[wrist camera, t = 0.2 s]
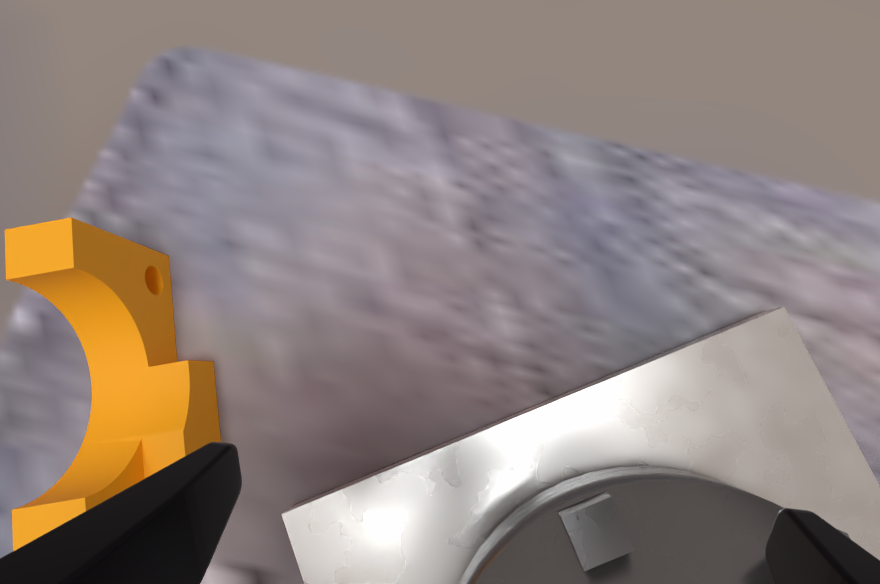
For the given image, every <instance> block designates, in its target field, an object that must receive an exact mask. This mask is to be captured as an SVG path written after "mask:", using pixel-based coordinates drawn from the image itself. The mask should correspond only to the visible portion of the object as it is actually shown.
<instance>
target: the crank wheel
mask: <svg viewBox="0 0 880 584" xmlns="http://www.w3.org/2000/svg"><path fill="white" fill-rule="evenodd" d="M781 509H784V508H783V507H781V506H779V505H777V504H775V503H773V502H771V501H769V500H766V499H764V498H761V497H759V496H757V495H754V494H752V493H750V492H747V491H745V490H743V489H740V488H738V487H735V486H733V485H731V484H728V483H725V482H723V481H720V480H717V479H714V478H711V477H708V476H706V475H703V474H699V473H694V472H690V471H685V470H681V469H676V468H668V467H656V466H627V467H615V468H609V469H604V470H599V471H593V472H589V473H586V474H583V475H580V476H577V477H574V478H571V479H568V480H565V481H563V482H561V483H559V484H557V485H555V486H553V487H551V488H549V489H547V490H545V491H543V492H541V493H539V494H538V495H536V496H535V497H533V498H532V499H530V500H529V501H527V502H526V503H525V504H523V505H522V506H520V507H519V508H517V509H516V510H515V511H514V512H513V513H512V514H511V515H510V516H508V517H507V518H506V519H505V520H504V521H503V522H502V523H501V524H500V525H499V526H497V527H496V529H495V530H494V531H493V532H492V533H491V535H490V536H489V537H488V538H487V539H486V541H485V542H484V543H483V544H482V545H481V547H480V548H479V549H478V551H477V552H476V554H475V555H474V557H473V559H472V560H471V562H470V563H469V565H468V566H467V568H466V570H465V571H464V573H463V575H462V577H461V579H460V581H459V583H458V584H773V581H772V578H771V574H770V571H769V568H768V565H767V562H766V557H765V547H766V543H767V540H768V537H769V535H770V532H771V530H772V527H773V524H774V522H775V519H776V517H777V514H778V512H779V511H780V510H781ZM837 530H838V529H837ZM839 531H840V532H841V533H843V534H844V535H846V536H847V537H848V538H850V537H849V535H848V533H845V532H843V531H841V530H839Z"/></svg>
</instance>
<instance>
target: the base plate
mask: <svg viewBox="0 0 880 584" xmlns="http://www.w3.org/2000/svg"><path fill="white" fill-rule="evenodd" d="M627 466H656V467H668V468H676V469H681V470H685V471H690V472H694V473H699V474H703V475H706V476H708V477H711V478H714V479H717V480H720V481H723V482H725V483H728V484H731V485H733V486H735V487H738V488H740V489H743V490H745V491H747V492H750V493H752V494H754V495H757V496H759V497H761V498H764V499H766V500H769V501H771V502H773V503H775V504H777V505H779V506H781V507H783V508H792V509H801V510H808V511H811V512H814V513H815V514H817V515H818V516H819V517H821V518H822V519H824V520H825V521H826V522H828V523H829V524H830V525H832V526H833V527H835V528H836V529H838V530H841V531H843V532H845V533H848V535H849V537H850V539H851V540H852V541H854V542H855V543H857V544H858V545H859V546H861V547H862V548H863V549H865V550H866V551H868V552H869V553H870V554H872V555H873V556H874V557H876V558H877V559H879V560H880V486H879V484H878V482H877V480H876V478H875V476H874V475H873V473H872V471H871V469H870V467H869V465H868V463H867V461H866V460H865V458H864V456H863V454H862V452H861V450H860V448H859V446H858V444H857V443H856V441H855V439H854V437H853V435H852V433H851V431H850V429H849V428H848V426H847V424H846V422H845V420H844V418H843V416H842V414H841V413H840V411H839V409H838V407H837V405H836V403H835V401H834V399H833V398H832V396H831V394H830V392H829V390H828V388H827V386H826V384H825V383H824V381H823V379H822V377H821V375H820V373H819V371H818V369H817V368H816V366H815V364H814V362H813V360H812V358H811V356H810V354H809V352H808V351H807V349H806V347H805V345H804V343H803V341H802V339H801V337H800V336H799V334H798V332H797V330H796V328H795V326H794V324H793V322H792V321H791V319H790V317H789V315H788V313H787V311H786V309H785V307H781V308H776V309H772V310H767V311H763V312H761V313H758V314H756V315H754V316H751V317H749V318H746V319H744V320H741V321H739V322H737V323H734V324H732V325H729V326H727V327H724V328H722V329H720V330H717V331H715V332H712V333H710V334H707V335H705V336H703V337H700V338H698V339H695V340H693V341H691V342H688V343H686V344H683V345H681V346H678V347H676V348H674V349H671V350H669V351H666V352H664V353H661V354H659V355H657V356H654V357H652V358H649V359H647V360H644V361H642V362H640V363H637V364H635V365H632V366H630V367H627V368H625V369H623V370H620V371H618V372H615V373H613V374H611V375H608V376H606V377H603V378H601V379H598V380H596V381H594V382H591V383H589V384H586V385H584V386H581V387H579V388H577V389H574V390H572V391H569V392H567V393H564V394H562V395H560V396H557V397H555V398H552V399H550V400H547V401H545V402H543V403H540V404H538V405H535V406H533V407H531V408H528V409H526V410H523V411H521V412H518V413H516V414H514V415H511V416H509V417H506V418H504V419H501V420H499V421H497V422H494V423H492V424H489V425H487V426H484V427H482V428H480V429H477V430H475V431H472V432H470V433H467V434H465V435H463V436H460V437H458V438H455V439H453V440H451V441H448V442H446V443H443V444H441V445H438V446H436V447H434V448H431V449H429V450H426V451H424V452H421V453H419V454H417V455H414V456H412V457H409V458H407V459H404V460H402V461H400V462H397V463H395V464H392V465H390V466H387V467H385V468H383V469H380V470H378V471H375V472H373V473H371V474H368V475H366V476H363V477H361V478H358V479H356V480H354V481H351V482H349V483H346V484H344V485H341V486H339V487H337V488H334V489H332V490H329V491H327V492H324V493H322V494H320V495H317V496H315V497H312V498H310V499H307V500H305V501H303V502H300V503H298V504H295V505H293V506H292V507H291V508H289V509H288V510H286V511H285V512H284V513H282V517H283V520H284V523H285V526H286V530H287V533H288V536H289V539H290V542H291V545H292V548H293V551H294V554H295V557H296V560H297V563H298V566H299V569H300V572H301V575H302V578H303V581H304V584H458V583H459V581H460V579H461V577H462V575H463V573H464V571H465V570H466V568H467V566H468V565H469V563H470V562H471V560H472V559H473V557H474V555H475V554H476V552H477V551H478V549H479V548H480V547H481V545H482V544H483V543H484V542H485V541H486V539H487V538H488V537H489V536H490V535H491V533H492V532H493V531H494V530H495V529H496V527H497V526H499V525H500V524H501V523H502V522H503V521H504V520H505V519H506V518H507V517H508V516H510V515H511V514H512V513H513V512H514V511H515V510H516V509H517V508H519V507H520V506H522V505H523V504H525V503H526V502H527V501H529V500H530V499H532V498H533V497H535V496H536V495H538V494H539V493H541V492H543V491H545V490H547V489H549V488H551V487H553V486H555V485H557V484H559V483H561V482H563V481H565V480H568V479H571V478H574V477H577V476H580V475H583V474H586V473H589V472H593V471H599V470H604V469H609V468H615V467H627Z"/></svg>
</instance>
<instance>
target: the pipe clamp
mask: <svg viewBox="0 0 880 584" xmlns="http://www.w3.org/2000/svg"><path fill="white" fill-rule="evenodd" d="M5 253H6V280H9V281H13V282H17V283H19V284H22V285H24V286H27V287H29V288H31V289H33V290H35V291H36V292H38V293H39V294H41V295H43V296H44V297H45V298H47V299H48V300H49V301H50V302H52V303H53V304H54V305H55V306H56V307H57V308H58V309H59V310H60V311H61V312H62V313H63V315H64V316H65V317H66V318H67V320H68V321H69V322H70V324H71V325H72V327H73V328H74V330H75V332H76V333H77V335H78V337H79V339H80V341H81V343H82V346H83V349H84V351H85V354H86V357H87V361H88V365H89V369H90V375H91V383H92V405H91V414H90V420H89V425H88V428H87V432H86V435H85V438H84V441H83V443H82V446H81V448H80V450H79V452H78V454H77V456H76V458H75V459H74V461H73V463H72V464H71V466H70V467H69V469H68V470H67V471H66V473H65V474H64V475H63V476H62V477H61V479H60V480H59V481H58V482H57V483H56V484H55V485H54V486H53V487H52V488H50V489H49V490H48V491H47V492H45V493H44V494H43V495H41V496H40V497H38V498H37V499H35V500H34V501H32V502H30V503H28V504H26V505H24V506H21V507H18V508H16V509H13V510H12V525H13V551H15V550H17V549H18V548H20V547H22V546H24V545H26V544H27V543H29V542H31V541H33V540H35V539H37V538H38V537H40V536H42V535H44V534H46V533H47V532H49V531H51V530H53V529H55V528H56V527H58V526H60V525H62V524H64V523H65V522H67V521H69V520H71V519H73V518H74V517H76V516H78V515H80V514H82V513H83V512H85V511H87V510H89V509H91V508H93V507H94V506H96V505H98V504H100V503H102V502H103V501H105V500H107V499H109V498H111V497H112V496H114V495H116V494H118V493H120V492H121V491H123V490H125V489H127V488H129V487H130V486H132V485H134V484H136V483H138V482H139V481H141V480H143V479H145V478H147V477H148V476H150V475H152V474H154V473H156V472H158V471H159V470H161V469H163V468H165V467H167V466H168V465H170V464H172V463H174V462H176V461H177V460H179V459H181V458H183V457H185V456H186V455H188V454H190V453H192V452H194V451H195V450H197V449H199V448H201V447H203V446H204V445H206V444H208V443H211V442H221V436H220V425H219V415H218V404H217V393H216V382H215V371H214V361H194V360H186V361H180V362H177V351H176V339H175V326H174V314H173V301H172V289H171V277H170V264H169V256H168V255H165V254H162V253H160V252H157V251H155V250H152V249H150V248H147V247H145V246H142V245H140V244H137V243H135V242H132V241H130V240H127V239H124V238H122V237H119V236H117V235H114V234H112V233H109V232H107V231H104V230H102V229H99V228H97V227H94V226H92V225H89V224H86V223H84V222H81V221H79V220H76V219H74V218H66V219H61V220H55V221H50V222H44V223H39V224H34V225H28V226H23V227H17V228H11V229H6V230H5Z"/></svg>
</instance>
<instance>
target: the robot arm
mask: <svg viewBox="0 0 880 584" xmlns="http://www.w3.org/2000/svg"><path fill="white" fill-rule="evenodd" d="M241 486H242V478H241V471H240V464H239V457H238V451H237V448H236V446H235V445H233V444H230V443H221V442H211V443H208V444H206V445H204V446H203V447H201V448H199V449H197V450H195V451H194V452H192V453H190V454H188V455H186V456H185V457H183V458H181V459H179V460H177V461H176V462H174V463H172V464H170V465H168V466H167V467H165V468H163V469H161V470H159V471H158V472H156V473H154V474H152V475H150V476H148V477H147V478H145V479H143V480H141V481H139V482H138V483H136V484H134V485H132V486H130V487H129V488H127V489H125V490H123V491H121V492H120V493H118V494H116V495H114V496H112V497H111V498H109V499H107V500H105V501H103V502H102V503H100V504H98V505H96V506H94V507H93V508H91V509H89V510H87V511H85V512H83V513H82V514H80V515H78V516H76V517H74V518H73V519H71V520H69V521H67V522H65V523H64V524H62V525H60V526H58V527H56V528H55V529H53V530H51V531H49V532H47V533H46V534H44V535H42V536H40V537H38V538H37V539H35V540H33V541H31V542H29V543H27V544H26V545H24V546H22V547H20V548H18V549H17V550H15V551H13V552H11V553H9V554H8V555H6V556H4V557H2V558H0V584H200V583H201V581H202V579H203V577H204V575H205V573H206V570H207V568H208V566H209V564H210V562H211V559H212V557H213V555H214V552H215V550H216V548H217V545H218V543H219V541H220V538H221V536H222V534H223V531H224V529H225V527H226V524H227V522H228V520H229V518H230V515H231V513H232V511H233V508H234V506H235V504H236V501H237V499H238V497H239V494H240V491H241ZM765 557H766V562H767V565H768V568H769V571H770V574H771V578H772V581H773V584H880V560H879V559H877V558H876V557H874V556H873V555H872V554H870V553H869V552H868V551H866V550H865V549H863V548H862V547H861V546H859V545H858V544H857V543H855V542H854V541H852V540H851V539H850V538H848V537H847V536H846V535H844V534H843V533H841V532H840V531H839V530H837V529H836V528H835V527H833V526H832V525H830V524H829V523H828V522H826V521H825V520H824V519H822V518H821V517H819V516H818V515H817V514H815V513H814V512H811V511H808V510H801V509H792V508H784V509H781V510H780V511H779V512H778V514H777V517H776V519H775V522H774V524H773V527H772V530H771V532H770V535H769V537H768V540H767V543H766V547H765Z"/></svg>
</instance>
